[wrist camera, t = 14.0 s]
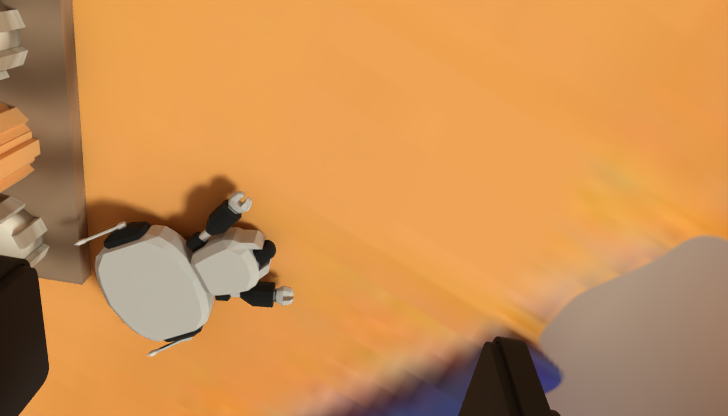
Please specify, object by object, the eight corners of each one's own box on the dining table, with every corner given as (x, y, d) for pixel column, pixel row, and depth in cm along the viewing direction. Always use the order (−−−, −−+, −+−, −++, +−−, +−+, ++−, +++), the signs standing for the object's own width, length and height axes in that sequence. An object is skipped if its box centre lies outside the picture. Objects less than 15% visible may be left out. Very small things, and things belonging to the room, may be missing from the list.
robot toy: (250, 170, 43) (89, 223, 44) (241, 191, 39) (63, 249, 40) (303, 287, 48) (156, 331, 49) (300, 317, 44) (140, 364, 45)
